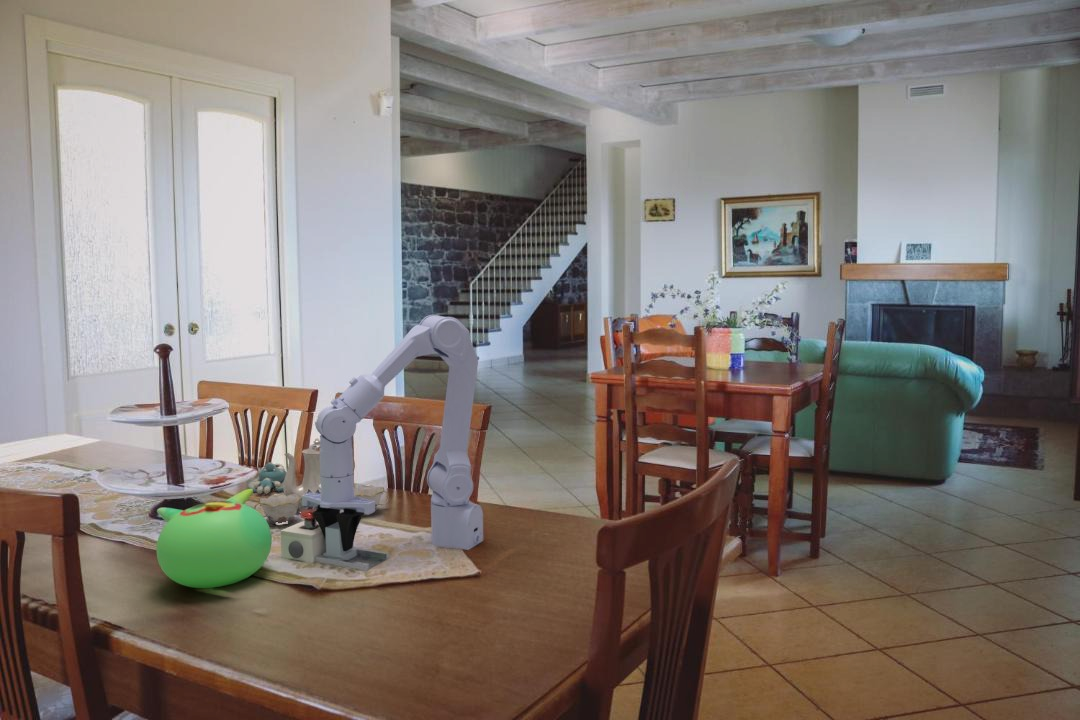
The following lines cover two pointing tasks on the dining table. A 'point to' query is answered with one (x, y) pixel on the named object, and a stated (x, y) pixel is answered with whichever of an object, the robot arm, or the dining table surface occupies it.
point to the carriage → (336, 544)
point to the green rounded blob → (213, 542)
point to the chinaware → (307, 488)
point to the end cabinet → (302, 543)
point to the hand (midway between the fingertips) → (339, 548)
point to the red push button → (309, 519)
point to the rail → (355, 563)
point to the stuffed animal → (269, 479)
